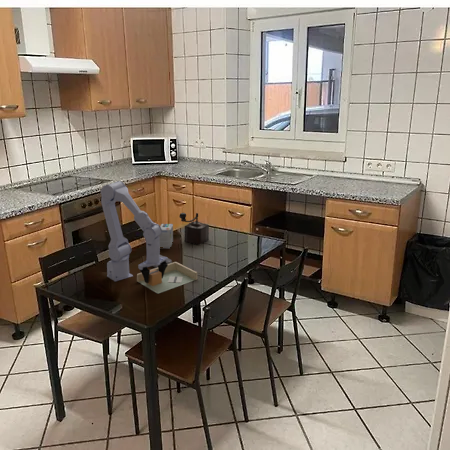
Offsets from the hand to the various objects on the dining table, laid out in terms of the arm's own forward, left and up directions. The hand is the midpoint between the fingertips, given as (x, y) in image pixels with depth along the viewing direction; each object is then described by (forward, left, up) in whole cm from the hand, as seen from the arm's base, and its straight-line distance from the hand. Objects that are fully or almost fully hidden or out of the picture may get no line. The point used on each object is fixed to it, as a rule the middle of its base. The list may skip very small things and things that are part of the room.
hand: (153, 280), depth 198 cm
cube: (0, 0, -1) cm, 1 cm away
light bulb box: (+33, +36, -2) cm, 49 cm away
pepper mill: (+48, +30, -2) cm, 57 cm away
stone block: (+15, +16, -2) cm, 22 cm away
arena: (+6, -2, -2) cm, 7 cm away
